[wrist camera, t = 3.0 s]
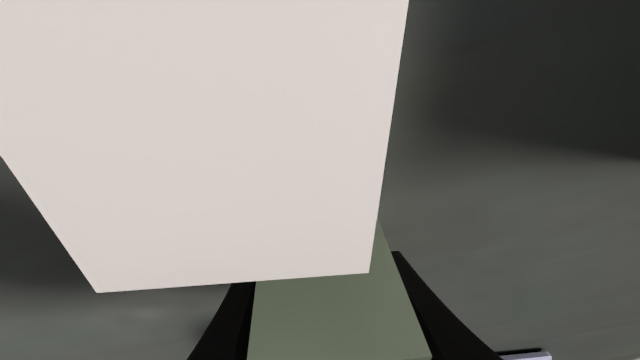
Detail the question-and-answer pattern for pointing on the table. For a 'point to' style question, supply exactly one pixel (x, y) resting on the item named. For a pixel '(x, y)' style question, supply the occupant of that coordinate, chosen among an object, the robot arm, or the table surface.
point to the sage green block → (338, 316)
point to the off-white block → (202, 133)
